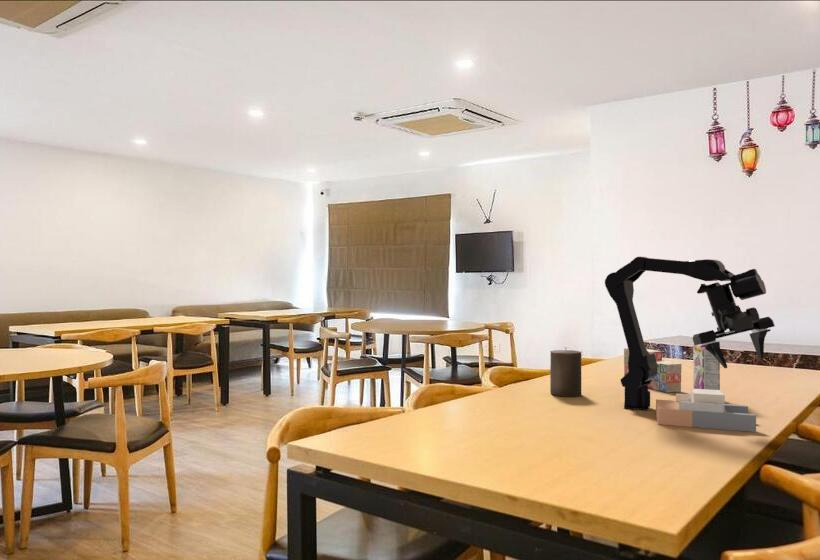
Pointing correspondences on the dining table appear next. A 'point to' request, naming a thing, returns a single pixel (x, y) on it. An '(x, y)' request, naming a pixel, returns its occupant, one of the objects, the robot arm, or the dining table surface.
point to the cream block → (707, 396)
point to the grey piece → (706, 417)
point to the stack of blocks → (661, 373)
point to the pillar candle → (565, 373)
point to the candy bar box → (705, 369)
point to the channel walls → (697, 404)
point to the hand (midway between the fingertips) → (743, 363)
